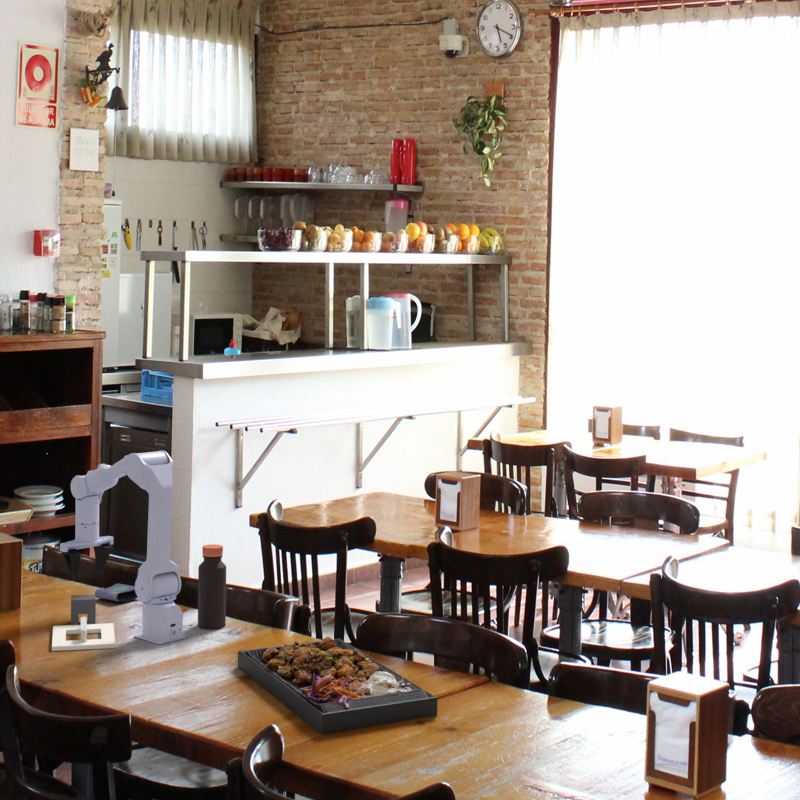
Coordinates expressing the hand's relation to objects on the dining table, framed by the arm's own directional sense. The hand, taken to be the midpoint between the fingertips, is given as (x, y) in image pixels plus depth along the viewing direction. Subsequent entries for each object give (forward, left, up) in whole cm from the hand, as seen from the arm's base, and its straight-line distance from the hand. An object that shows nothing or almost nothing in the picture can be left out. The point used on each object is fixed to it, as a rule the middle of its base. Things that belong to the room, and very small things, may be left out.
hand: (87, 576), depth 302 cm
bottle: (-30, -15, -10) cm, 35 cm away
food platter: (-85, 0, -11) cm, 85 cm away
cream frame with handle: (-17, +13, -10) cm, 24 cm away
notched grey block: (-5, +5, -10) cm, 12 cm away
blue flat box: (+4, -16, -11) cm, 20 cm away
